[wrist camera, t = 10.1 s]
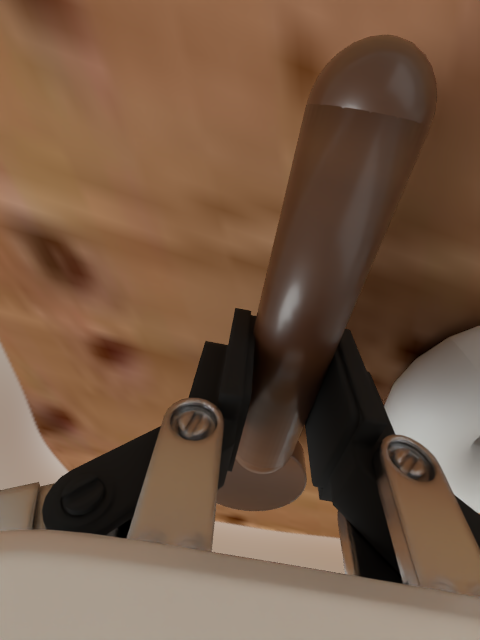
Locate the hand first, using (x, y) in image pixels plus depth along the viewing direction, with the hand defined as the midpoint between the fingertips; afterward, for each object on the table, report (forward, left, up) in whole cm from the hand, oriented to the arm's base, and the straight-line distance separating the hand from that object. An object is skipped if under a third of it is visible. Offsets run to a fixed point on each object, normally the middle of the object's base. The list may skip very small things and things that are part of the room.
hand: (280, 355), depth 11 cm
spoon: (0, +1, 0) cm, 1 cm away
